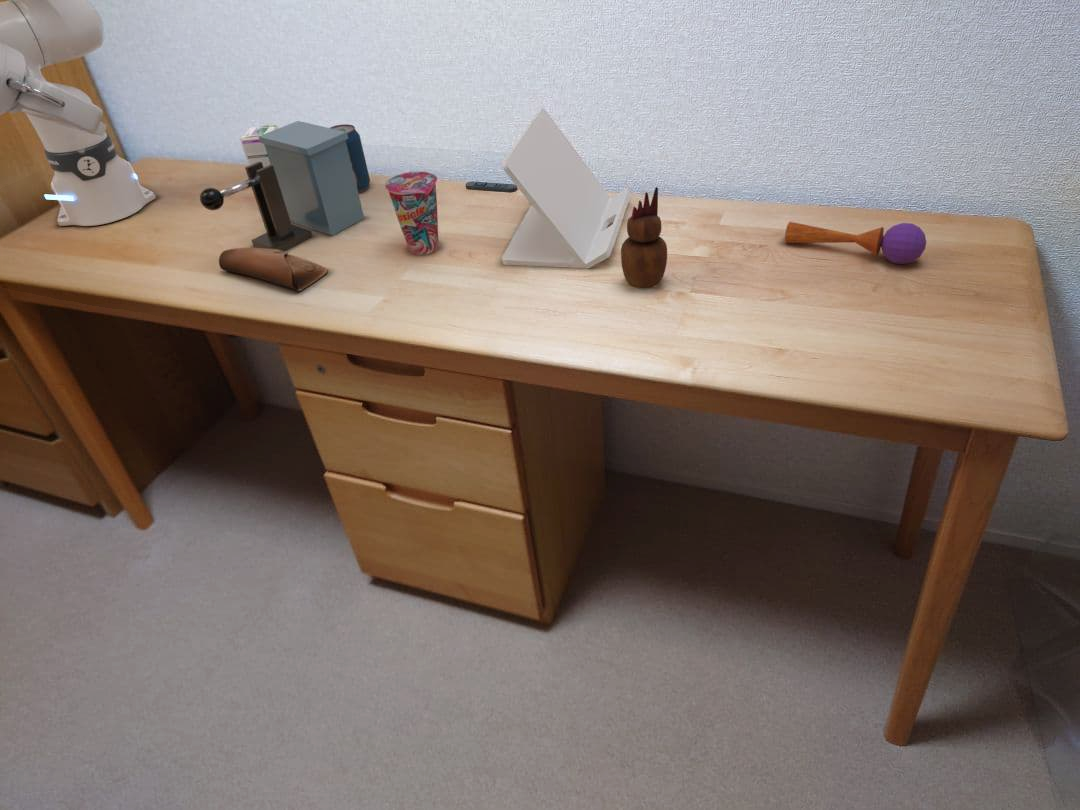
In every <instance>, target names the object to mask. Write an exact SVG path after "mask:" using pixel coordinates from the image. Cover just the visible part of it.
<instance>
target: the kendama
mask: <svg viewBox="0 0 1080 810" xmlns="http://www.w3.org/2000/svg"><path fill="white" fill-rule="evenodd" d="M884 228H885V227H883V226H882V227H878V228H876V229H871V230H869V231H866V232H863V233H860V234H852V233H848V232H844V231H843V232H842V231H838V230H832V229H828V228H824V227H819V226H815V225H808V224H803V223H799V222H794V221H788V223H787V225H786V228H785V232H784V233H785V235H784V241H785V243H786V244H806V243H808V244H811V243H813V244H817V243H818V244H819V243H821V244H823V243H825V244H826V243H827V244H828V243H829V244H832V243H835V244H837V243H840V244H842V243H845V244H846V243H854V244H856V245H858V246H860V247H862V248H863V249H865V250H867V251H868V252H870V253H871V254H873V255H875V256H879V254H880V251H881V252H882V254H883V255H884V257H885V258H886V259H887V261H890V262H891V263H892V264H897V265H905V264H906V265H907V264H910V263H913V262H914V261H916V260H917V259H919V258H921V256H922V255H923V253H924V251H925V250H926V247H927V237H926V233H925V231H923V229H922V228H921V227H920V226H918V225H916V224H914V223H910V222H902V223H901V222H900V223H898V224H895V225H893V226H891V227H890V228H888V229H887V230H886V231H885V230H884ZM884 231H885V232H884Z"/></svg>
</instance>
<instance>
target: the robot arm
mask: <svg viewBox="0 0 1080 810" xmlns="http://www.w3.org/2000/svg"><path fill="white" fill-rule="evenodd" d="M104 39H105V26H104V22H103V20H102V17H101V15H100V13H99V11H98V10H97V8H96V7H95V5H93V3H92V2H91V1H90V0H5V1H0V116H2V115H4V114H6V113H7V112H8V113H10V114H17V113H22V114H25V115H26V117H27V118H28V120H29V122H30V123H31V125H32V127H33V129H34V130H35V132H36V134H37V136H38V137H39V139H40V142H41V144H42V145H43V147H44V151H43V153H44V155H45V159H46V160H47V162H48V163H49V165H50V168H51V169H52V170H53V171H54V175H53V177H52V178H51V182H50V188H51V190H52V191H53V194H44V198H45V199H46V200H50V201H51V200H55V201H57V202H58V204H59V206H60V207H59V211H58V215H57V220H56V221H57V224H58V225H59V226H61V227H67V226H79V227H92V226H93V227H94V226H100V225H105V224H110V223H113V222H117V221H120V220H123V219H126V218H128V217H129V216H132V215H134V214H136V213H137V212H139V211H141V210H142V209H143V208H144V207H145V206H146V205H147V204H149V203H150V202H152V201H154V200H155V199H156V198H157V195H156V194H155V192H153V191H151V190H150V189H148V188H146V187H145V186H143V185H141V183H140V181H139V178H138V175H137V174H136V172H135V170H134V168H133V165H132V164H131V162H130V161H127V160H126V159H125V158H122V157H121V156H119V155H118V151H117V148H116V146H115V143H114V141H113V139H112V138H111V136H110V135H109V134H108V133H107V132H106V131H107V129H108V127H107V124H106V123H104V122H102V117H103V115H104V111H103V109H102V108H101V107H99V106H98V105H96V104H94V103H93V101H92V99H91V97H89V95H88V94H87V93H86V92H84V91H83V90H81V89H79V88H77V87H74V86H70V85H66V84H61V83H56V82H50V81H47V79H46V78H45V76H44V75H43V73H42V71H41V70H42V69H43V68H46V67H49V66H53V65H57V64H61V63H65V62H69V61H72V60H76V59H77V60H78V59H80V58H82V57H84V56H86V55H88V54H90V53H92V52H94V51H96V50H97V49H100V48H101V47H102V46H103V43H104Z"/></svg>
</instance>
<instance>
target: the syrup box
mask: <svg viewBox="0 0 1080 810" xmlns="http://www.w3.org/2000/svg"><path fill="white" fill-rule="evenodd" d="M278 128H279V126H278V125H271V124H269V125H268V124H267V125H257V126H253V127H249V128H248V130H247V131H246V132H245V133H244V134H243V135H242V136H241V137H240V138H239V141H240V144H241V147H242V150H243V153H244V156H245V158H246V161H247V165H248V166H250V165H252V164H255V163H257V162H262V164H263V167H266V166H268V165H271V164H270V161H269V158H268V155H267V152H266V148H265V145H264V144H263V143H260V140H259V136H261V135H263V134H266V133H268V132H271V131H273V130H276V129H278Z"/></svg>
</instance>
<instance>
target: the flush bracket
mask: <svg viewBox="0 0 1080 810" xmlns="http://www.w3.org/2000/svg"><path fill="white" fill-rule="evenodd" d="M244 169H245V172H246V175H247V178H248V179H251V178H253V177H255V174H256V172H257V175H258V178H259V182H260V183H259V184H256V185H254V186H252V187H251V190H252V193H253V195H254V199H255V202H256V205H257V209H258V210H259V215H260V217H261V220H262V223H263V226H264V229H265V233H263V234H261V235H259V236H257V237H255V238H253V239H251V243H252V245H253V247H254V248H266V249H277V250H281V251H284V252H287V250H289V249H292V248H294V247H295V246H297V245H299V244H301V243H303V242H305V241H307V240H309V239H311V238H313V233H312V230H310V229H307V228H305V227H301V226H300V225H299V226H298V225H297V224H292V222H291V221H290V218H289V215H288V212H287V209H286V205H285V202H284V199H283V196H282V192H281V189H280V186H279V183H278V180H277V176H276V173H275V170H274V167H273V165H268V166H266V167H263V164H262V162H257V163H255V164H252V165H250V166H249V165H247V166H245V167H244Z"/></svg>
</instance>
